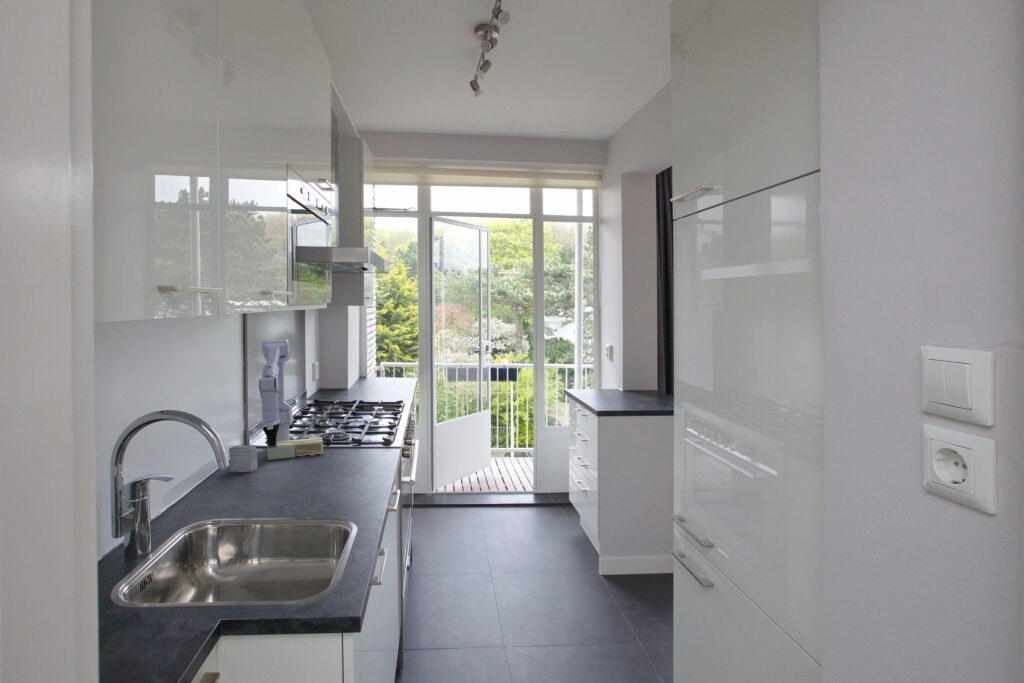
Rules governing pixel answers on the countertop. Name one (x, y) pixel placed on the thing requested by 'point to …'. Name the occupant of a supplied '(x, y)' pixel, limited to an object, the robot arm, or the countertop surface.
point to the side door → (281, 451)
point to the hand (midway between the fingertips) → (272, 445)
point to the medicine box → (243, 458)
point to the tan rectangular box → (304, 446)
